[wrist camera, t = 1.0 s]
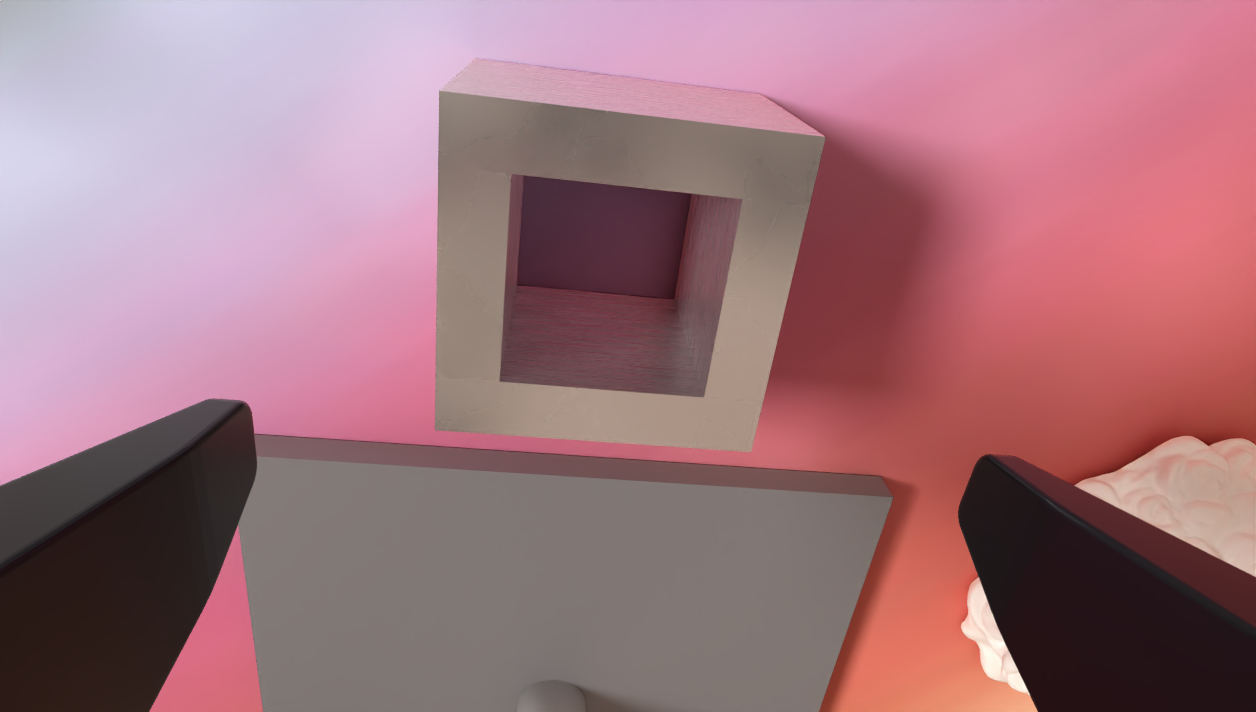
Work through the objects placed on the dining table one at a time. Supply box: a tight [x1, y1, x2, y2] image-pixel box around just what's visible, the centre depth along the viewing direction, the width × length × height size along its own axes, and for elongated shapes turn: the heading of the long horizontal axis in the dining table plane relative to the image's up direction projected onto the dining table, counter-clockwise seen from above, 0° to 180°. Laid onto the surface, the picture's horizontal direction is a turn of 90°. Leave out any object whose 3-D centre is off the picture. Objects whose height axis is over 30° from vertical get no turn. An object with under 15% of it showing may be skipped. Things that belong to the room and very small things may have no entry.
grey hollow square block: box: [435, 58, 826, 452], centre depth 16 cm, size 6×6×5 cm
